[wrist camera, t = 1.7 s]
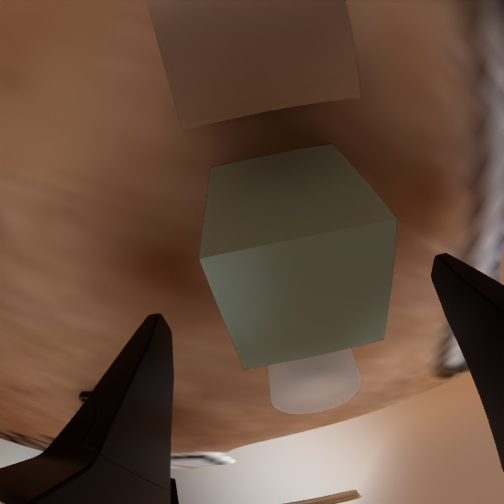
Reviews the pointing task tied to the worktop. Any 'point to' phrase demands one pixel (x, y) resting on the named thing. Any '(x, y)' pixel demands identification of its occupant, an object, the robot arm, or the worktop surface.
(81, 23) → the worktop surface
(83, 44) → the worktop surface
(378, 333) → the green block
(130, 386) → the robot arm
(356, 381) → the grey canister
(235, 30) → the walnut block
